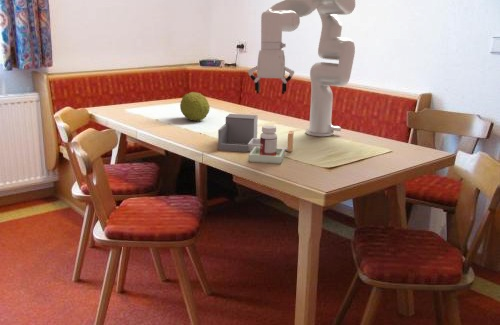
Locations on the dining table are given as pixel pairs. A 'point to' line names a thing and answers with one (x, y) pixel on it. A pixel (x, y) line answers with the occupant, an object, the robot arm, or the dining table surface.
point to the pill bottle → (268, 141)
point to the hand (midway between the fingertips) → (270, 93)
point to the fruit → (194, 106)
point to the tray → (266, 156)
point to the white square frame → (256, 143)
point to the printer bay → (237, 132)
